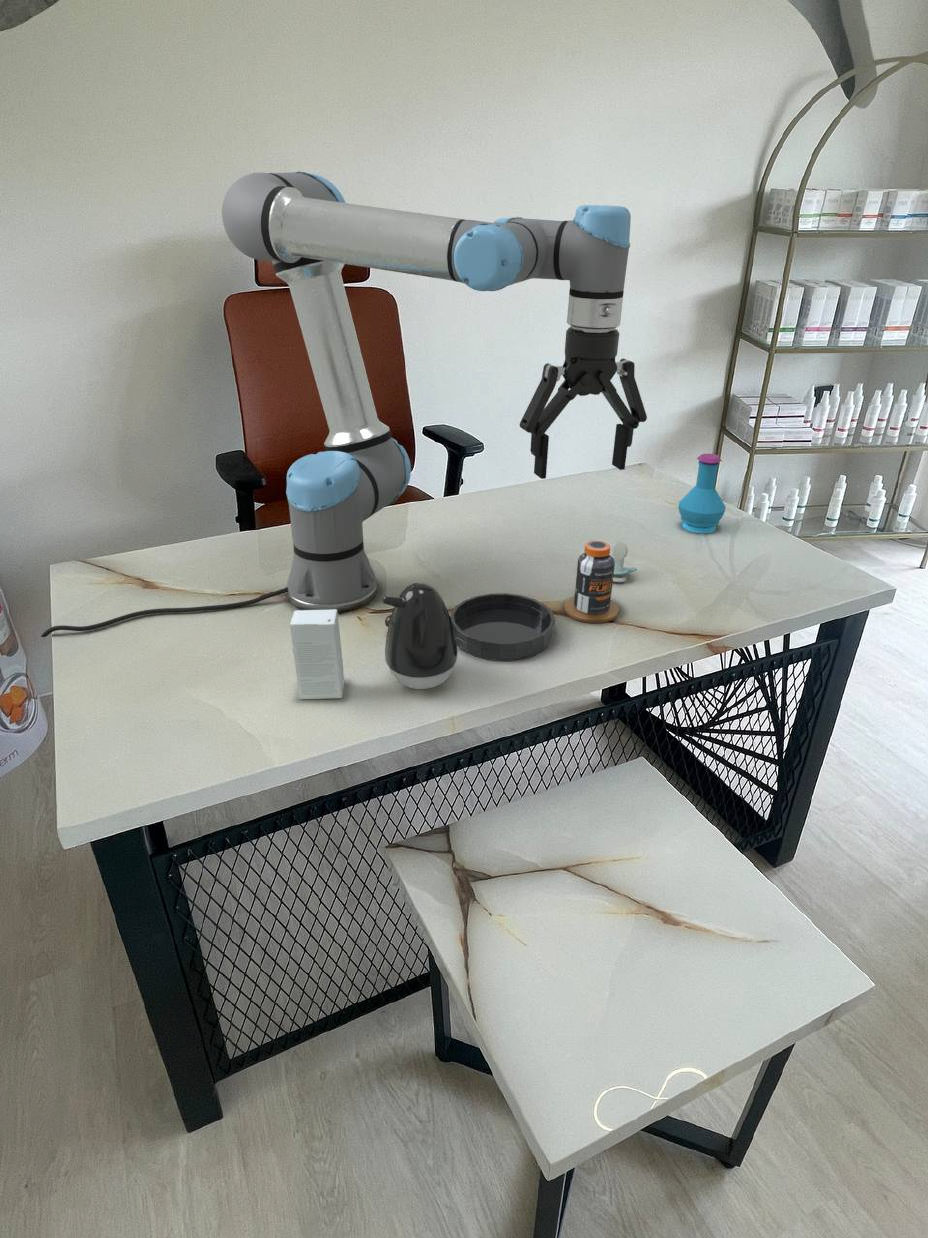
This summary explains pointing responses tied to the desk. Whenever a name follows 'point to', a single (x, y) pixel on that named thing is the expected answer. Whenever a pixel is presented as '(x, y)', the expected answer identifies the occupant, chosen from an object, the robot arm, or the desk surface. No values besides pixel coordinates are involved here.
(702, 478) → the perfume bottle
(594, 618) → the coaster
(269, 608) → the desk surface
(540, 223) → the robot arm
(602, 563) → the pill bottle
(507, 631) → the pan
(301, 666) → the cosmetic box
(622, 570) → the pacifier
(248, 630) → the desk surface
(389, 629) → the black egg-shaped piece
